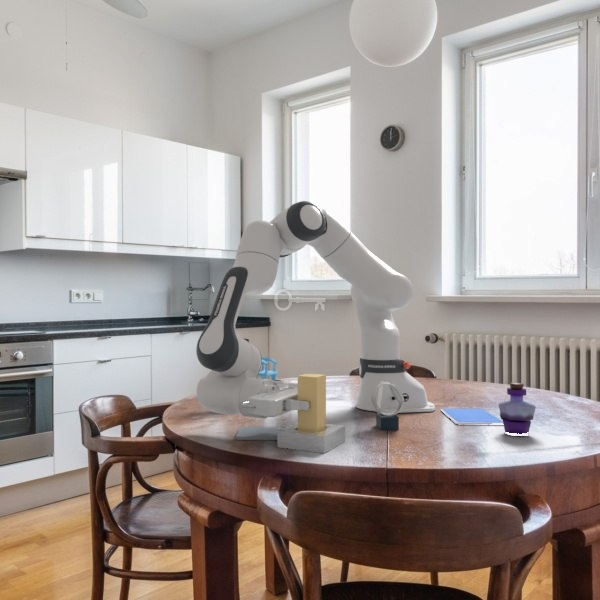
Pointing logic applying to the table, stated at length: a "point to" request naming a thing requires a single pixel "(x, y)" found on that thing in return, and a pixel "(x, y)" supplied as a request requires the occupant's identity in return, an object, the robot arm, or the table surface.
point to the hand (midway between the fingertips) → (315, 403)
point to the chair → (265, 373)
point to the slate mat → (257, 433)
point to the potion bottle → (516, 410)
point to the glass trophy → (388, 419)
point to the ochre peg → (312, 402)
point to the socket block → (311, 438)
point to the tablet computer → (470, 416)
